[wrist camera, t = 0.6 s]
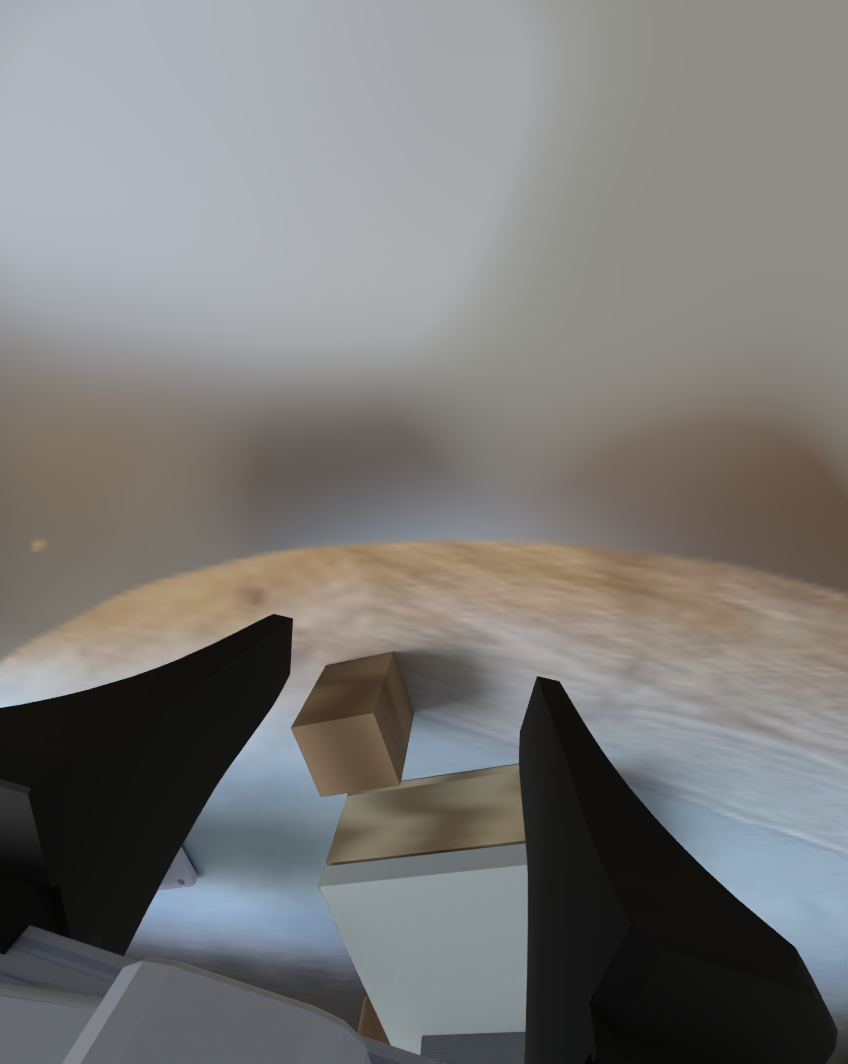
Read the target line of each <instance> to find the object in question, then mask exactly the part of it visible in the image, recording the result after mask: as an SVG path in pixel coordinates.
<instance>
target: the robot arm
mask: <svg viewBox="0 0 848 1064" xmlns="http://www.w3.org/2000/svg"><path fill="white" fill-rule="evenodd" d="M292 627H293V618H288V617H284V616H280V615H276V614H273V615H270V616H268V617H266V618H264V619H262V620H260V621H258V622H256V623H254V624H252V625H250V626H248V627H246V628H244V629H242V630H240V631H238V632H236V633H234V634H232V635H230V636H228V637H226V638H224V639H222V640H220V641H218V642H216V643H214V644H212V645H210V646H207V647H205V648H203V649H201V650H198V651H196V652H194V653H192V654H190V655H187V656H185V657H183V658H181V659H178V660H176V661H173V662H171V663H168V664H166V665H163V666H161V667H158V668H155V669H153V670H150V671H147V672H144V673H141V674H138V675H136V676H133V677H129V678H126V679H123V680H119V681H116V682H113V683H109V684H106V685H102V686H99V687H96V688H92V689H89V690H85V691H81V692H77V693H73V694H69V695H64V696H60V697H56V698H51V699H46V700H42V701H37V702H32V703H27V704H22V705H16V706H10V707H4V708H0V1064H445V1063H442V1062H439V1061H436V1060H433V1059H430V1058H427V1057H424V1056H421V1055H418V1054H415V1053H412V1052H409V1051H406V1050H403V1049H400V1048H397V1047H394V1046H391V1045H388V1044H385V1043H382V1042H379V1041H376V1040H373V1039H370V1038H367V1037H364V1036H361V1035H358V1034H357V1033H356V1032H355V1031H354V1030H353V1029H352V1028H351V1027H350V1026H349V1025H348V1024H347V1023H346V1022H345V1021H344V1020H342V1019H340V1018H337V1017H335V1016H333V1015H331V1014H329V1013H327V1012H325V1011H323V1010H321V1009H319V1008H317V1007H315V1006H312V1005H309V1004H306V1003H303V1002H300V1001H297V1000H294V999H291V998H288V997H284V996H281V995H278V994H275V993H272V992H269V991H266V990H263V989H260V988H257V987H254V986H251V985H248V984H245V983H242V982H239V981H236V980H233V979H230V978H227V977H224V976H221V975H218V974H215V973H212V972H209V971H206V970H203V969H200V968H197V967H194V966H191V965H188V964H184V963H181V962H178V961H173V960H167V959H161V958H155V957H150V958H147V959H144V960H140V961H136V960H133V959H130V958H127V957H124V955H125V953H126V951H127V949H128V947H129V945H130V943H131V941H132V939H133V937H134V935H135V933H136V931H137V929H138V927H139V925H140V923H141V921H142V919H143V917H144V915H145V913H146V911H147V909H148V907H149V905H150V903H151V902H152V900H153V898H154V896H155V894H156V893H157V891H158V890H161V889H170V888H179V887H187V886H192V885H194V884H195V882H196V880H197V878H198V877H197V874H196V872H195V871H194V869H193V867H192V865H191V863H190V861H189V860H188V858H187V856H186V854H185V852H184V850H183V849H182V847H181V846H182V844H183V843H184V841H185V839H186V837H187V835H188V834H189V832H190V830H191V828H192V827H193V825H194V823H195V821H196V819H197V818H198V816H199V814H200V813H201V811H202V809H203V808H204V806H205V804H206V802H207V801H208V799H209V797H210V796H211V794H212V792H213V791H214V789H215V787H216V786H217V784H218V783H219V781H220V780H221V778H222V777H223V775H224V774H225V772H226V771H227V769H228V768H229V766H230V765H231V764H232V762H233V761H234V760H235V758H236V757H237V755H238V754H239V753H240V751H241V750H242V748H243V747H244V746H245V744H246V743H247V742H248V740H249V739H250V737H251V736H252V735H253V733H254V732H255V730H256V729H257V728H258V726H259V725H260V723H261V722H262V721H263V719H264V718H265V716H266V715H267V714H268V712H269V711H270V709H271V708H272V706H273V705H274V703H275V701H276V700H277V698H278V696H279V694H280V693H281V691H282V689H283V687H284V685H285V683H286V681H287V679H288V677H289V675H290V665H291V646H292ZM519 775H520V787H521V799H522V810H523V820H524V831H525V842H526V853H527V872H528V934H527V991H526V1029H525V1055H524V1064H825V1063H826V1062H827V1060H828V1059H829V1057H830V1056H831V1054H832V1053H833V1051H834V1050H835V1047H836V1044H837V1028H836V1026H835V1024H834V1021H833V1019H832V1017H831V1015H830V1013H829V1011H828V1009H827V1007H826V1005H825V1003H824V1001H823V999H822V997H821V995H820V993H819V991H818V989H817V987H816V985H815V983H814V981H813V979H812V977H811V975H810V973H809V971H808V969H807V968H806V966H805V964H804V962H803V960H802V958H801V957H800V955H799V953H798V951H797V950H796V948H795V947H794V946H793V945H792V944H790V943H789V942H788V941H787V940H786V939H784V938H783V937H782V936H781V935H780V934H778V933H777V932H776V931H775V930H774V929H773V928H771V927H770V926H769V925H768V924H767V923H765V922H764V921H763V920H762V919H761V918H759V917H758V916H757V915H756V914H755V913H753V912H752V911H751V910H750V909H749V908H747V907H746V906H745V905H744V904H743V903H741V902H740V901H739V900H738V899H737V898H736V897H735V896H734V895H732V894H731V893H730V892H729V891H728V890H727V889H726V888H725V887H724V886H723V885H722V884H721V883H719V882H718V881H717V880H716V879H715V878H714V877H713V876H712V875H711V874H710V873H709V872H708V871H707V870H705V869H704V868H703V867H702V866H701V865H700V864H699V863H698V862H697V861H696V860H695V859H694V858H693V857H692V856H691V855H690V854H689V853H688V852H687V851H686V850H685V849H684V848H683V847H682V846H681V845H680V844H679V843H678V842H677V841H676V839H675V838H674V837H673V836H672V835H671V834H670V833H669V832H668V831H667V830H666V829H665V828H664V827H663V826H662V825H661V824H660V823H659V821H658V820H657V819H656V818H655V817H654V816H653V815H652V814H651V812H650V811H649V810H648V809H647V808H646V807H645V805H644V804H643V803H642V802H641V801H640V799H639V798H638V797H637V796H636V795H635V793H634V792H633V791H632V790H631V789H630V787H629V786H628V785H627V784H626V782H625V781H624V780H623V779H622V777H621V776H620V775H619V773H618V772H617V771H616V769H615V768H614V766H613V765H612V764H611V762H610V761H609V760H608V758H607V757H606V755H605V754H604V753H603V751H602V750H601V748H600V747H599V745H598V744H597V742H596V740H595V739H594V737H593V736H592V734H591V733H590V731H589V730H588V728H587V727H586V725H585V723H584V722H583V720H582V718H581V717H580V715H579V713H578V712H577V710H576V709H575V707H574V705H573V703H572V702H571V700H570V698H569V697H568V695H567V693H566V692H565V690H564V688H563V687H562V685H561V683H560V682H559V681H556V680H551V679H547V678H543V677H539V676H537V678H536V682H535V685H534V688H533V691H532V695H531V698H530V701H529V704H528V708H527V711H526V714H525V717H524V721H523V724H522V727H521V730H520V746H519Z"/></svg>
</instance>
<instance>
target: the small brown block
mask: <svg viewBox="0 0 848 1064" xmlns="http://www.w3.org/2000/svg"><path fill="white" fill-rule="evenodd" d="M413 716H414V711H413V708H412V705H411V702H410V699H409V696H408V693H407V690H406V688H405V685H404V682H403V679H402V676H401V673H400V670H399V667H398V664H397V661H396V658H395V655H394V653H393V652H389V653H384V654H379V655H374V656H369V657H364V658H359V659H355V660H350V661H345V662H340V663H335V664H330V665H326V666H325V668H324V670H323V672H322V673H321V675H320V677H319V679H318V680H317V682H316V684H315V686H314V688H313V689H312V691H311V693H310V695H309V697H308V698H307V700H306V702H305V704H304V705H303V707H302V709H301V711H300V713H299V714H298V716H297V718H296V720H295V721H294V723H293V725H292V727H291V729H292V731H293V734H294V736H295V738H296V741H297V743H298V745H299V748H300V750H301V752H302V755H303V757H304V759H305V762H306V764H307V766H308V769H309V771H310V773H311V776H312V778H313V780H314V783H315V785H316V787H317V790H318V792H319V794H320V797H324V796H331V795H338V794H344V793H351V792H358V791H365V790H372V789H379V788H386V787H393V786H399V785H400V784H401V779H402V773H403V768H404V763H405V758H406V752H407V747H408V742H409V737H410V731H411V726H412V721H413Z"/></svg>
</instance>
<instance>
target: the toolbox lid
mask: <svg viewBox="0 0 848 1064" xmlns="http://www.w3.org/2000/svg"><path fill="white" fill-rule="evenodd" d="M318 888H319V890H320V892H321V894H322V896H323V898H324V901H325V903H326V905H327V907H328V909H329V912H330V914H331V916H332V918H333V920H334V922H335V925H336V927H337V929H338V931H339V933H340V935H341V938H342V940H343V942H344V944H345V946H346V949H347V951H348V953H349V955H350V957H351V959H352V962H353V964H354V966H355V968H356V970H357V972H358V975H359V977H360V979H361V981H362V983H363V985H364V988H365V990H366V992H367V994H368V996H369V999H370V1001H371V1003H372V1005H373V1007H374V1009H375V1012H376V1014H377V1016H378V1018H379V1020H380V1022H381V1025H382V1027H383V1029H384V1031H385V1033H386V1036H387V1038H388V1040H389V1042H390V1044H391V1046H394V1047H397V1048H400V1049H403V1050H406V1051H409V1052H412V1053H415V1054H418V1055H421V1056H424V1057H427V1058H430V1059H433V1060H436V1061H439V1062H442V1063H445V1064H524V1055H525V1029H526V991H527V934H528V872H527V853H526V843H524V844H515V845H506V846H498V847H489V848H480V849H472V850H463V851H454V852H446V853H437V854H428V855H420V856H411V857H402V858H393V859H385V860H376V861H367V862H359V863H350V864H341V865H333V866H325V867H324V871H323V874H322V877H321V880H320V883H319V886H318Z"/></svg>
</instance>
